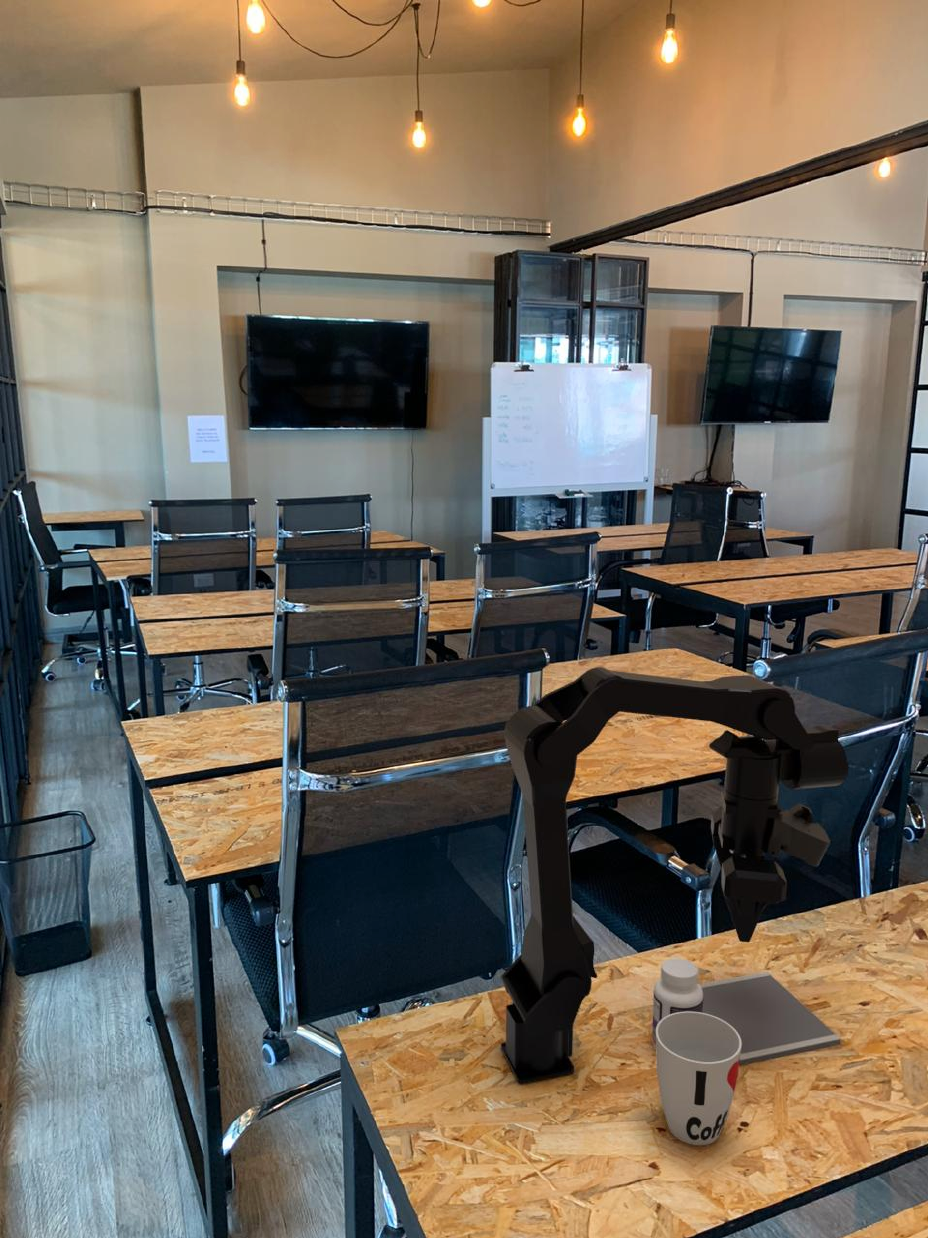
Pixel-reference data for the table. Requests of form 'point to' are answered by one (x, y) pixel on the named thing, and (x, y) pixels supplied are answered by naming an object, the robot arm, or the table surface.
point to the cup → (696, 1074)
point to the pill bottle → (676, 991)
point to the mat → (765, 1017)
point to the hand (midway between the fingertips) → (739, 920)
